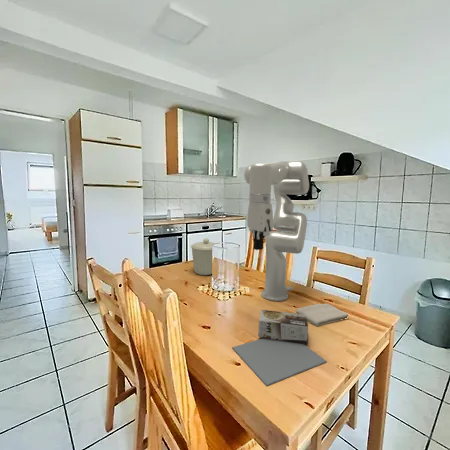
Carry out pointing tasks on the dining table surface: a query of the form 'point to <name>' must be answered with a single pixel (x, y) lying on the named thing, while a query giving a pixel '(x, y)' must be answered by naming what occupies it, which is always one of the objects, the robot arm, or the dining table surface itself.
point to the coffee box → (283, 326)
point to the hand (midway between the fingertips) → (258, 249)
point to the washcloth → (322, 314)
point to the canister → (202, 257)
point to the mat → (277, 358)
